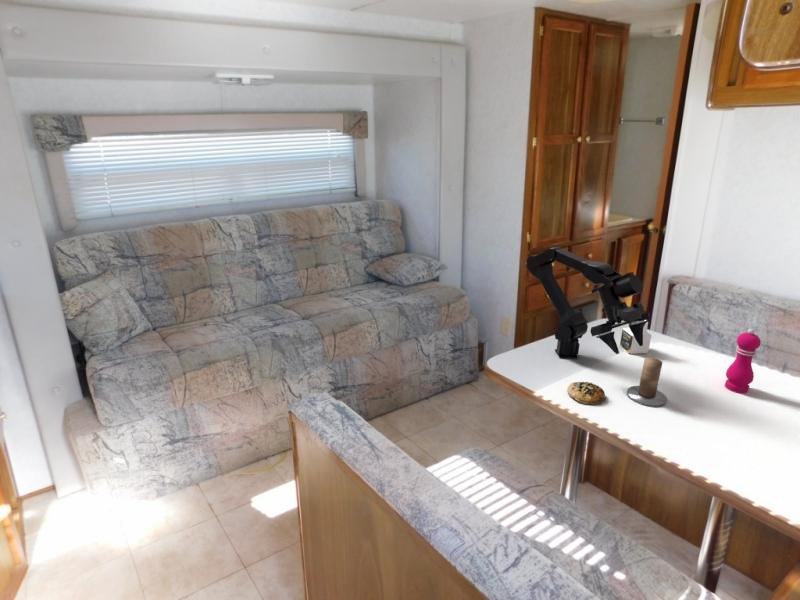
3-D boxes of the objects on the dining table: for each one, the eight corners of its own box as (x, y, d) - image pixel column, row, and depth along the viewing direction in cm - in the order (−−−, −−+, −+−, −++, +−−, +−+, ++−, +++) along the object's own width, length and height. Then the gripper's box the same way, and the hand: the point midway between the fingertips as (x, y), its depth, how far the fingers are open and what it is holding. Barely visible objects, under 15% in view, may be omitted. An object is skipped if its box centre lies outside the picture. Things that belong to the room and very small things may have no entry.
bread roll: (611, 395, 159) (612, 381, 157) (595, 413, 152) (595, 399, 150) (575, 384, 166) (576, 370, 164) (558, 401, 159) (559, 386, 157)
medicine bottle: (619, 345, 193) (624, 315, 189) (637, 345, 194) (643, 314, 190) (629, 354, 187) (635, 322, 183) (648, 353, 188) (654, 322, 184)
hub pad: (636, 406, 153) (636, 404, 153) (620, 387, 163) (620, 385, 163) (673, 406, 153) (674, 404, 153) (655, 388, 163) (656, 385, 163)
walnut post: (638, 396, 157) (644, 363, 153) (637, 389, 161) (643, 356, 157) (656, 399, 155) (663, 366, 151) (654, 392, 159) (661, 359, 156)
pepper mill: (748, 385, 166) (764, 326, 160) (751, 396, 160) (768, 335, 153) (721, 380, 169) (736, 322, 162) (724, 390, 163) (739, 330, 156)
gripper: (603, 304, 156) (622, 354, 154) (652, 289, 162) (671, 337, 160) (582, 311, 167) (599, 359, 165) (629, 297, 172) (646, 343, 170)
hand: (629, 349), depth 164 cm, fingers open, 9 cm apart
